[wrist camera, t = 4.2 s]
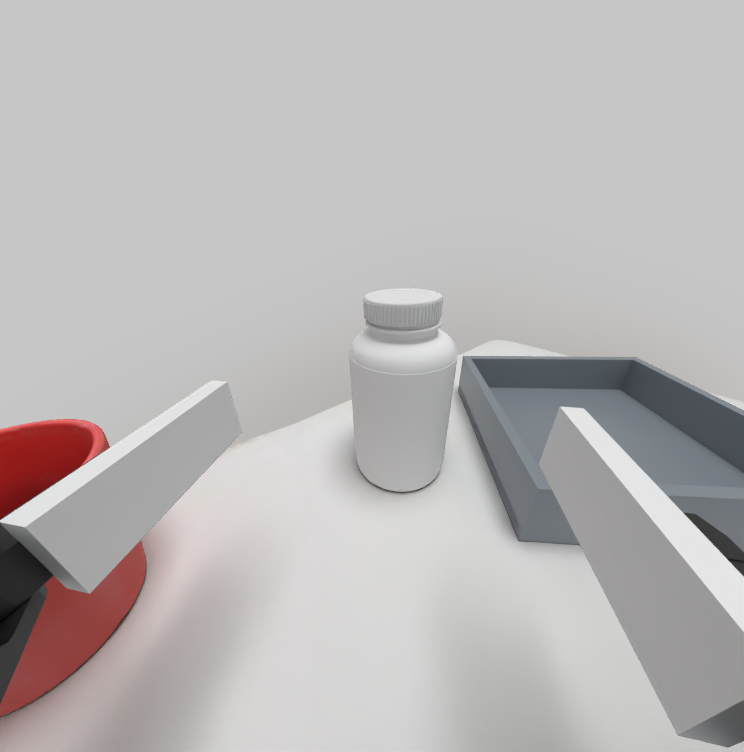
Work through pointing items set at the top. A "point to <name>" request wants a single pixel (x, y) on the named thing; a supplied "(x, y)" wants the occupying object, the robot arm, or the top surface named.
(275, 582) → the top surface
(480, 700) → the top surface
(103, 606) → the flower pot
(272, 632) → the top surface
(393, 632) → the top surface
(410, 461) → the pill bottle
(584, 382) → the tray
